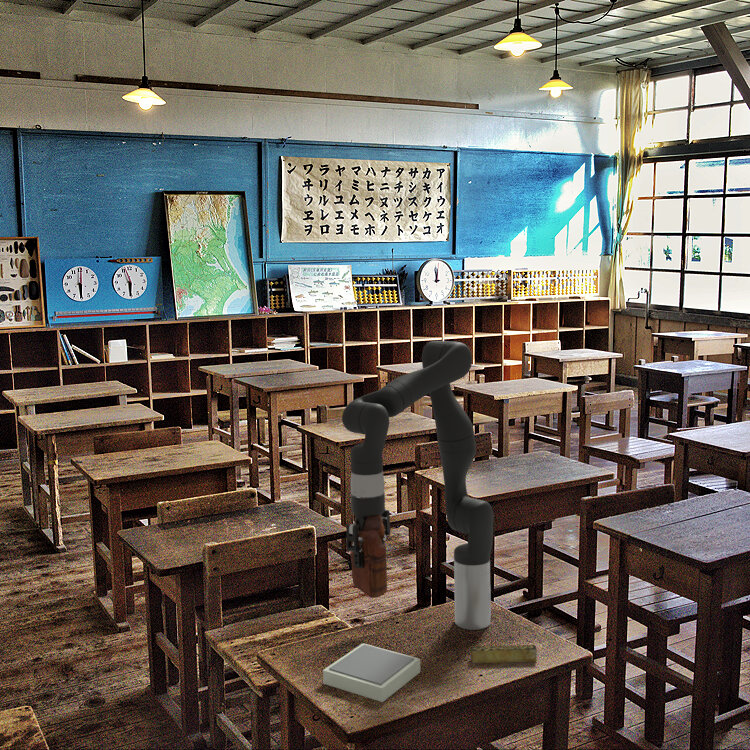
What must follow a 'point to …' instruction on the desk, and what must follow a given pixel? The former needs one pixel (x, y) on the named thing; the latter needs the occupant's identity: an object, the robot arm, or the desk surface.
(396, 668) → the plinth
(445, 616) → the desk surface
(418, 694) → the desk surface
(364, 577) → the wooden figurine
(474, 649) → the decorative block
